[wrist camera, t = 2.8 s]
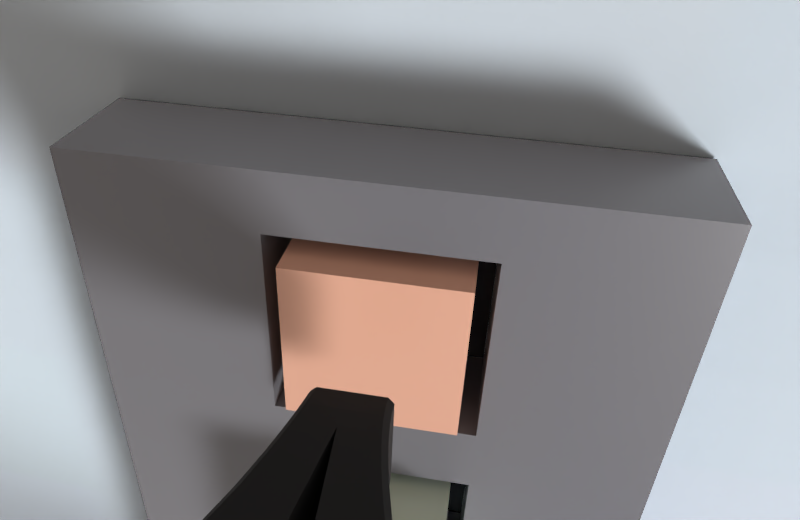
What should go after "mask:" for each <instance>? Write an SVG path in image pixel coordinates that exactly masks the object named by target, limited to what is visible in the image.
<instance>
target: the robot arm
mask: <svg viewBox="0 0 800 520" xmlns="http://www.w3.org/2000/svg"><path fill="white" fill-rule="evenodd" d="M394 405H395V404H394V403H393V402H392V401H391V400H390V399H389V398H388V397H381V396H374V395H368V394H361V393H354V392H347V391H341V390H334V389H327V388H320V387H316V388H314V389H312V390H311V391H310V392H309V393H308V395H307V396H306V398H305V399H304V401H303V402H302V403H301V405H300V406H299V408H298V409H297V410H296V412H295V413H294V414H293V416H292V417H291V418H290V420H289V421H288V422H287V424H286V425H285V426H284V427H283V429H282V430H281V431H280V433H279V434H278V435H277V436H276V438H275V439H274V440H273V441H272V443H271V444H270V445H269V446H268V447H267V449H266V450H265V451H264V452H263V453H262V455H261V456H260V457H259V458H258V459H257V460H256V462H255V463H254V464H253V465H252V466H251V467H250V469H249V470H248V471H247V472H246V473H245V474H244V475H243V477H242V478H241V479H240V480H239V481H238V482H237V484H236V485H235V486H234V487H233V488H232V489H231V490H230V491H229V492H228V493H227V494H226V495H225V497H224V498H223V499H222V500H221V501H220V502H219V503H218V504H217V505H216V506H215V507H214V508H213V509H212V510H211V511H210V512H209V513H208V514H207V515H206V516H205V517H204V518H203V520H392V511H391V499H390V488H389V485H390V478H391V463H392V443H393V424H394Z"/></svg>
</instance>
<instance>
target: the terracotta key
mask: <svg viewBox="0 0 800 520" xmlns="http://www.w3.org/2000/svg"><path fill="white" fill-rule="evenodd" d="M478 265H479V261H475V260H467V259H459V258H451V257H443V256H435V255H426V254H418V253H410V252H402V251H394V250H385V249H377V248H369V247H361V246H353V245H344V244H336V243H328V242H320V241H312V240H304V239H295V238H292V239H291V241H290V243H289V245H288V247H287V248H286V250H285V252H284V254H283V256H282V257H281V259H280V261H279V263H278V264H277V266H276V281H277V294H278V308H279V322H280V335H281V349H282V362H283V376H284V390H285V403H286V410H292V411H296V410H297V409H298V408H299V406H300V405H301V403H302V402H303V401H304V399H305V398H306V396H307V395H308V393H309V392H310V391H311V390H312V389H314V388H316V387H320V388H327V389H334V390H341V391H347V392H354V393H361V394H368V395H374V396H381V397H388V398H389V399H390V400H391V401H392V402H393V403H394V404H395V405H394V424H393V426H398V427H404V428H411V429H418V430H424V431H431V432H438V433H444V434H451V435H457V433H458V425H459V417H460V409H461V401H462V393H463V385H464V377H465V369H466V362H467V354H468V346H469V338H470V330H471V322H472V314H473V306H474V298H475V290H476V282H477V273H478Z"/></svg>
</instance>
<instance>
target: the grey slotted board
mask: <svg viewBox="0 0 800 520" xmlns="http://www.w3.org/2000/svg"><path fill="white" fill-rule="evenodd" d="M50 151H51V155H52V158H53V162H54V166H55V170H56V173H57V177H58V181H59V185H60V189H61V192H62V196H63V200H64V204H65V207H66V211H67V215H68V219H69V223H70V226H71V230H72V234H73V238H74V241H75V245H76V249H77V253H78V257H79V260H80V264H81V268H82V272H83V275H84V279H85V283H86V287H87V291H88V294H89V298H90V302H91V306H92V309H93V313H94V317H95V321H96V325H97V328H98V332H99V336H100V340H101V343H102V347H103V351H104V355H105V359H106V362H107V366H108V370H109V374H110V377H111V381H112V385H113V389H114V393H115V396H116V400H117V404H118V408H119V411H120V415H121V419H122V423H123V427H124V430H125V434H126V438H127V442H128V445H129V449H130V453H131V457H132V461H133V464H134V468H135V472H136V476H137V479H138V483H139V487H140V491H141V495H142V498H143V502H144V506H145V510H146V513H147V517H148V520H203V518H204V517H205V516H206V515H207V514H208V513H209V512H210V511H211V510H212V509H213V508H214V507H215V506H216V505H217V504H218V503H219V502H220V501H221V500H222V499H223V498H224V497H225V495H226V494H227V493H228V492H229V491H230V490H231V489H232V488H233V487H234V486H235V485H236V484H237V482H238V481H239V480H240V479H241V478H242V477H243V475H244V474H245V473H246V472H247V471H248V470H249V469H250V467H251V466H252V465H253V464H254V463H255V462H256V460H257V459H258V458H259V457H260V456H261V455H262V453H263V452H264V451H265V450H266V449H267V447H268V446H269V445H270V444H271V443H272V441H273V440H274V439H275V438H276V436H277V435H278V434H279V433H280V431H281V430H282V429H283V427H284V426H285V425H286V424H287V422H288V421H289V420H290V418H291V417H292V416H293V414H294V413H295V412H296V411H292V410H286V403H285V390H284V376H283V362H282V349H281V335H280V322H279V308H278V294H277V281H276V266H277V264H278V263H279V261H280V259H281V257H282V256H283V254H284V252H285V250H286V248H287V247H288V245H289V243H290V241H291V239H292V238H295V239H304V240H312V241H320V242H328V243H336V244H344V245H353V246H361V247H369V248H377V249H385V250H394V251H402V252H410V253H418V254H426V255H435V256H443V257H451V258H459V259H467V260H475V261H484V262H492V263H497V265H496V272H495V279H494V286H493V292H492V299H491V306H490V313H489V320H488V327H487V334H486V341H485V348H484V355H483V358H481V357H474V356H467V362H466V369H465V377H464V385H463V393H462V401H461V409H460V417H459V425H458V433H457V435H451V434H444V433H438V432H431V431H424V430H418V429H411V428H404V427H398V426H393V443H392V463H391V473H396V474H402V475H409V476H415V477H421V478H428V479H434V480H440V481H446V482H453V483H459V484H465V487H464V494H463V500H462V507H461V513H457V512H451V511H447V520H640V518H641V515H642V513H643V510H644V507H645V505H646V502H647V499H648V497H649V494H650V492H651V489H652V486H653V484H654V481H655V478H656V476H657V473H658V470H659V468H660V465H661V463H662V460H663V457H664V455H665V452H666V449H667V447H668V444H669V442H670V439H671V436H672V434H673V431H674V428H675V426H676V423H677V421H678V418H679V415H680V413H681V410H682V407H683V405H684V402H685V400H686V397H687V394H688V392H689V389H690V386H691V384H692V381H693V379H694V376H695V373H696V371H697V368H698V365H699V363H700V360H701V358H702V355H703V352H704V350H705V347H706V344H707V342H708V339H709V337H710V334H711V331H712V329H713V326H714V323H715V321H716V318H717V315H718V313H719V310H720V308H721V305H722V302H723V300H724V297H725V294H726V292H727V289H728V287H729V284H730V281H731V279H732V276H733V273H734V271H735V268H736V266H737V263H738V260H739V258H740V255H741V252H742V250H743V247H744V245H745V242H746V239H747V237H748V234H749V231H750V229H751V226H752V225H751V223H750V221H749V219H748V217H747V215H746V213H745V211H744V210H743V208H742V206H741V204H740V202H739V200H738V198H737V196H736V195H735V193H734V191H733V189H732V187H731V185H730V183H729V181H728V179H727V178H726V176H725V174H724V172H723V170H722V168H721V166H720V164H719V162H718V161H717V159H711V158H702V157H692V156H682V155H672V154H662V153H653V152H643V151H633V150H623V149H613V148H603V147H594V146H584V145H574V144H564V143H554V142H544V141H535V140H525V139H515V138H505V137H495V136H486V135H476V134H466V133H456V132H446V131H436V130H427V129H417V128H407V127H397V126H387V125H378V124H368V123H358V122H348V121H338V120H328V119H319V118H309V117H299V116H289V115H279V114H270V113H260V112H250V111H240V110H230V109H220V108H211V107H201V106H191V105H181V104H171V103H161V102H152V101H142V100H132V99H122V98H119V99H117V100H116V101H115V102H113V103H112V104H110V105H109V106H107V107H106V108H105V109H103V110H102V111H100V112H99V113H97V114H96V115H95V116H93V117H92V118H90V119H89V120H87V121H86V122H85V123H83V124H82V125H80V126H79V127H77V128H76V129H75V130H73V131H72V132H70V133H69V134H67V135H66V136H65V137H63V138H62V139H60V140H59V141H57V142H56V143H54V144H53V145H52V146H50Z"/></svg>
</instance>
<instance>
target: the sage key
mask: <svg viewBox="0 0 800 520" xmlns="http://www.w3.org/2000/svg"><path fill="white" fill-rule="evenodd" d="M450 486H451V482H446V481H440V480H434V479H428V478H421V477H415V476H409V475H402V474H396V473H391V478H390V485H389V488H390V499H391V511H392V520H447V511H448V503H449V495H450Z"/></svg>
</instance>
